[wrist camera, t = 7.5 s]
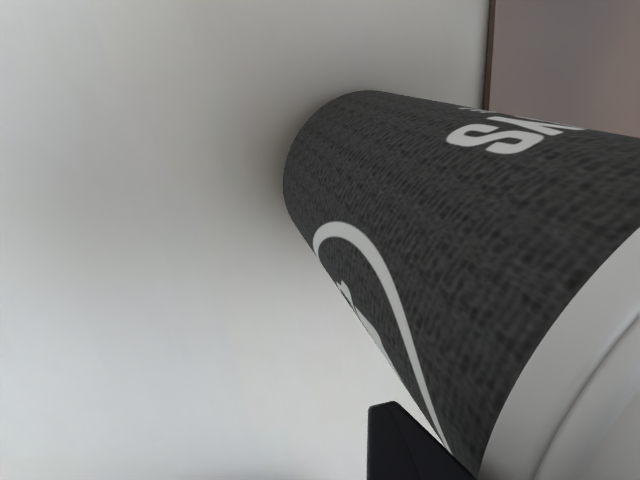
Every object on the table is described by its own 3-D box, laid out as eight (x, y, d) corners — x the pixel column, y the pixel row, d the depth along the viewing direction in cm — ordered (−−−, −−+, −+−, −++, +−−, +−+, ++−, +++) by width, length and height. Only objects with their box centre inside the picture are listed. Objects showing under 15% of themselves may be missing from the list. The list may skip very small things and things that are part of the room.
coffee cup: (457, 242, 24) (864, 517, 12) (265, 311, 21) (542, 769, 9) (462, 25, 19) (1154, 105, 7) (217, 73, 16) (667, 357, 4)
